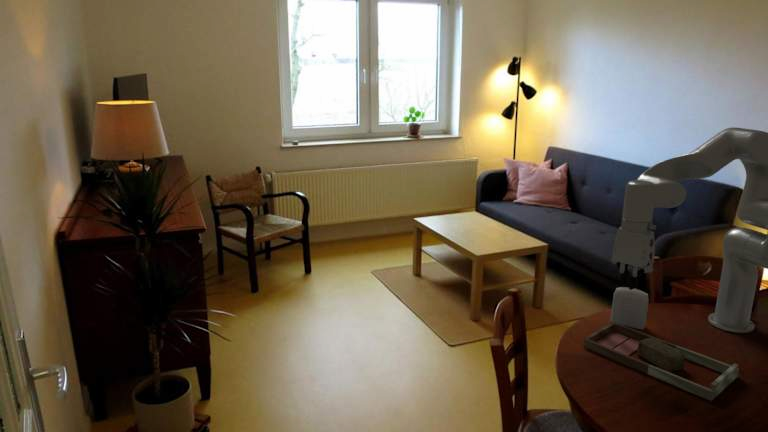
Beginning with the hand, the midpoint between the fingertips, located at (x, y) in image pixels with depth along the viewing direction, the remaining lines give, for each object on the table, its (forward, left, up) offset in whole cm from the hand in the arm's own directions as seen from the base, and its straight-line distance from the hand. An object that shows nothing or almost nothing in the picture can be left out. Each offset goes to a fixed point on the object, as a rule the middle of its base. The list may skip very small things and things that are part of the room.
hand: (628, 286), depth 159 cm
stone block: (0, +11, -20) cm, 22 cm away
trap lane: (0, +10, -19) cm, 22 cm away
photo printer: (-15, -6, -19) cm, 25 cm away
